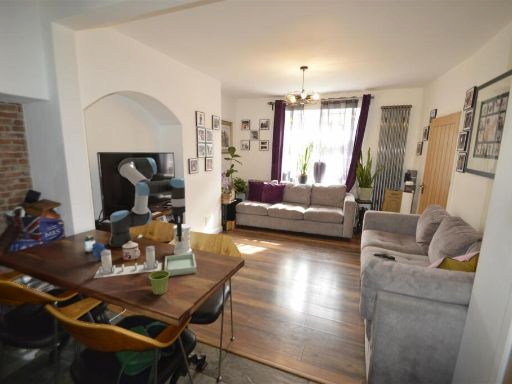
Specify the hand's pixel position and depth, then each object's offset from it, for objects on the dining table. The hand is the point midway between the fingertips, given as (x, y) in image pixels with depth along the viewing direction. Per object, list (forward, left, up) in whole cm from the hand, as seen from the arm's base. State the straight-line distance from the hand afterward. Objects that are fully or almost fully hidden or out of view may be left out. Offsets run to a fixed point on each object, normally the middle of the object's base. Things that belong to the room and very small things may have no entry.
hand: (179, 244), depth 148 cm
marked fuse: (0, 0, -2) cm, 2 cm away
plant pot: (+25, -10, -14) cm, 30 cm away
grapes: (-20, -47, -14) cm, 53 cm away
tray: (0, 0, -13) cm, 13 cm away
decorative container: (-22, +2, -14) cm, 26 cm away
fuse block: (0, -27, -13) cm, 30 cm away
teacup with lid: (-18, -28, -14) cm, 36 cm away
